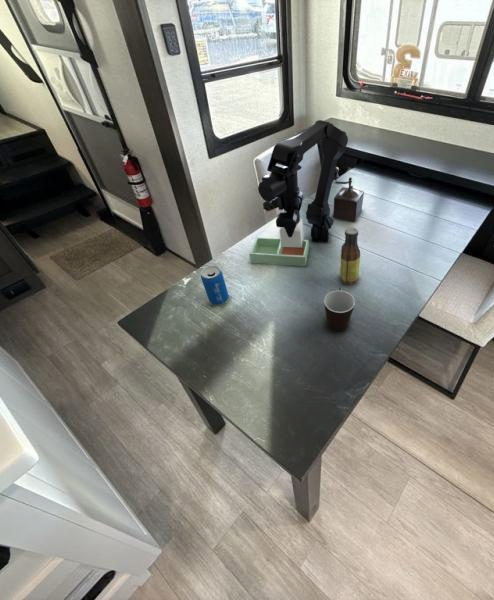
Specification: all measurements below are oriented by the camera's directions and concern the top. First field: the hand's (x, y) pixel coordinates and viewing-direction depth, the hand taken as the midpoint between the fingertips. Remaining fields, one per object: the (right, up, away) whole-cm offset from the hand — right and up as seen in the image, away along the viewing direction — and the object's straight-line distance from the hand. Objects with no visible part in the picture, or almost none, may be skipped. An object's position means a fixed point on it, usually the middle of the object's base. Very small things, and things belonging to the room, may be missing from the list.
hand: (291, 230), depth 108 cm
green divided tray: (-5, -7, +11) cm, 14 cm away
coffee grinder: (+21, +15, +31) cm, 41 cm away
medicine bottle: (0, -3, +4) cm, 5 cm away
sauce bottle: (+20, -17, +1) cm, 26 cm away
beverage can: (-24, -24, -4) cm, 34 cm away
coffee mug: (+15, -30, -12) cm, 36 cm away
